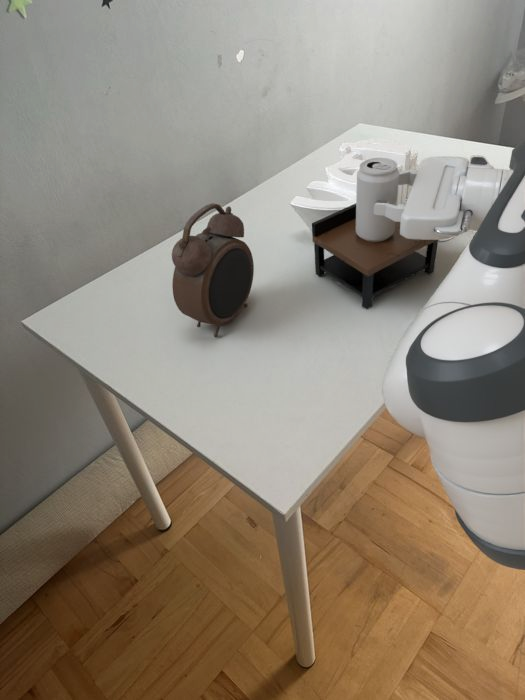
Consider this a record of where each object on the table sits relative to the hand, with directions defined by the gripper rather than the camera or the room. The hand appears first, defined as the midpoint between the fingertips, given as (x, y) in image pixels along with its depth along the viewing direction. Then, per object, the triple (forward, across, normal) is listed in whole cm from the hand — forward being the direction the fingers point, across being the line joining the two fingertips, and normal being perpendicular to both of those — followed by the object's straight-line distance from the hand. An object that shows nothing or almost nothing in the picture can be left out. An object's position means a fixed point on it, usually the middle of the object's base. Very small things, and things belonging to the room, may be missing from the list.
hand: (381, 192), depth 79 cm
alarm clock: (+22, -18, -16) cm, 32 cm away
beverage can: (+1, 0, -8) cm, 8 cm away
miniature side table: (+1, 0, -16) cm, 16 cm away
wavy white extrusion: (+8, +22, -16) cm, 29 cm away
